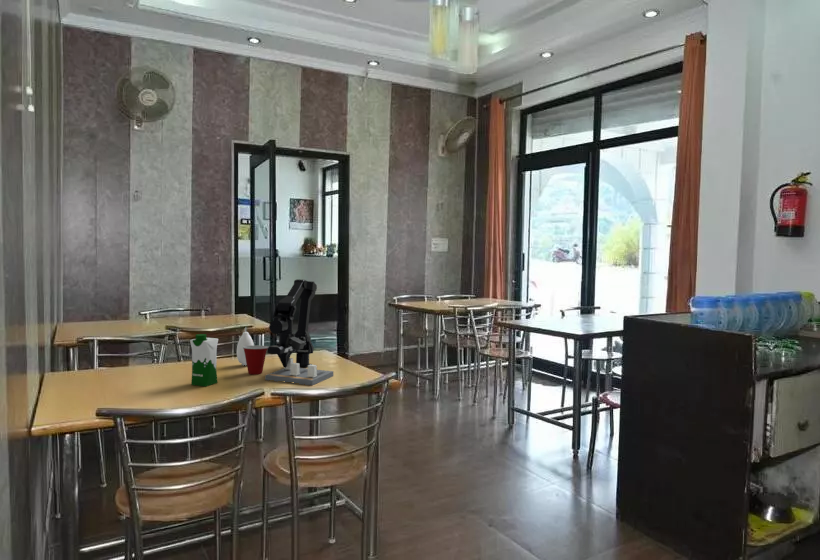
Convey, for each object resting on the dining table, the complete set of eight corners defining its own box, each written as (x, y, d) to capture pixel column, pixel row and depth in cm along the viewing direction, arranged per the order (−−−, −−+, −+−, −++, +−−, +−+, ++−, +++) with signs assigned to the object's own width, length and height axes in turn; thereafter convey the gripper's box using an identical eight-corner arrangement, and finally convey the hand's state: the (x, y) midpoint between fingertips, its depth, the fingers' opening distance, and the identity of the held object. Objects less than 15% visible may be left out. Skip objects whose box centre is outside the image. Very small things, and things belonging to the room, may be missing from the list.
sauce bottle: (233, 366, 257) (233, 327, 256) (244, 363, 264) (244, 324, 263) (247, 367, 254) (247, 328, 253) (258, 364, 261) (258, 326, 260)
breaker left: (310, 375, 232) (310, 364, 232) (317, 376, 231) (317, 364, 231) (307, 376, 229) (307, 365, 229) (313, 377, 228) (313, 366, 228)
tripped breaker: (287, 367, 245) (287, 357, 245) (293, 368, 244) (293, 358, 244) (283, 369, 242) (283, 358, 242) (289, 369, 241) (290, 359, 241)
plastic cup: (271, 370, 249) (272, 344, 248) (263, 376, 238) (263, 348, 238) (248, 369, 250) (248, 343, 249) (238, 375, 239) (238, 347, 239)
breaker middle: (293, 373, 235) (293, 362, 235) (300, 374, 234) (300, 363, 234) (289, 374, 232) (290, 363, 232) (296, 375, 231) (296, 364, 231)
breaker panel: (288, 371, 249) (288, 366, 249) (333, 375, 242) (333, 371, 242) (265, 380, 232) (265, 375, 232) (312, 385, 225) (312, 380, 225)
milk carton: (187, 385, 221) (187, 334, 220) (203, 380, 230) (203, 331, 229) (206, 387, 218) (206, 336, 217) (221, 382, 227) (221, 333, 226)
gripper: (290, 335, 228) (289, 373, 229) (313, 329, 246) (312, 365, 247) (266, 333, 232) (266, 370, 233) (291, 328, 250) (290, 363, 250)
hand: (285, 367), depth 240 cm, fingers closed
